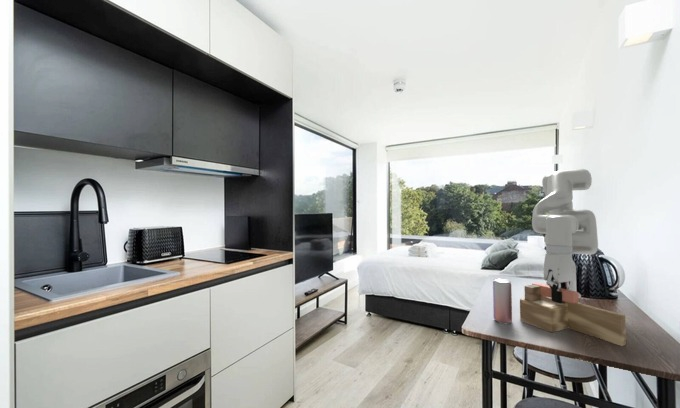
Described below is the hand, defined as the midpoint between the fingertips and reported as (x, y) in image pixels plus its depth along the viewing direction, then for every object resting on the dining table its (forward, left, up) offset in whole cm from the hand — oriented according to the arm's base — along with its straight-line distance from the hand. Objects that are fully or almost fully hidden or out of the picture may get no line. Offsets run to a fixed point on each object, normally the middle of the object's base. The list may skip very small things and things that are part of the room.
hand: (560, 300), depth 103 cm
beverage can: (+16, -11, -9) cm, 21 cm away
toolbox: (+3, +5, -8) cm, 10 cm away
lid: (+3, -3, -1) cm, 5 cm away
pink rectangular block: (0, -2, +1) cm, 2 cm away
